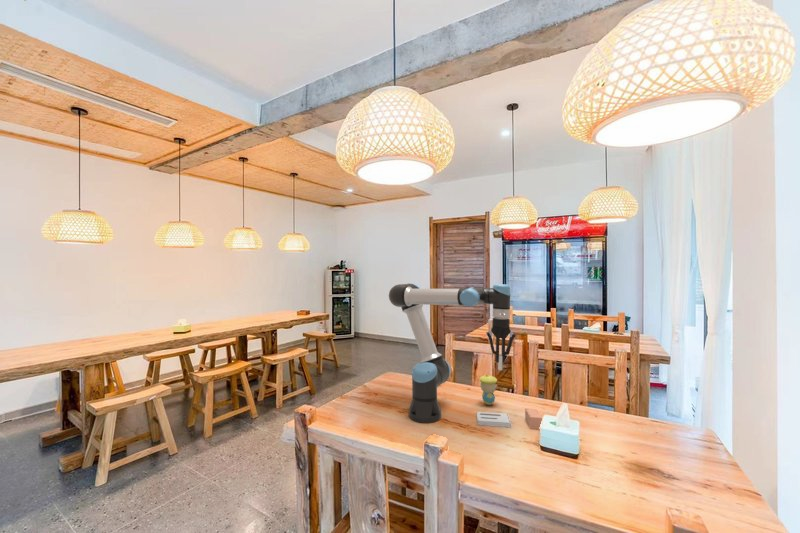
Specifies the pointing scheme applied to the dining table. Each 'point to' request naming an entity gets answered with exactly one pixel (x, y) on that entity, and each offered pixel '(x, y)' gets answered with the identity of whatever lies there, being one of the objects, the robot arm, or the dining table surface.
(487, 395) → the toy
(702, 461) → the dining table surface
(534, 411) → the stub
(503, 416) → the grey slotted block
